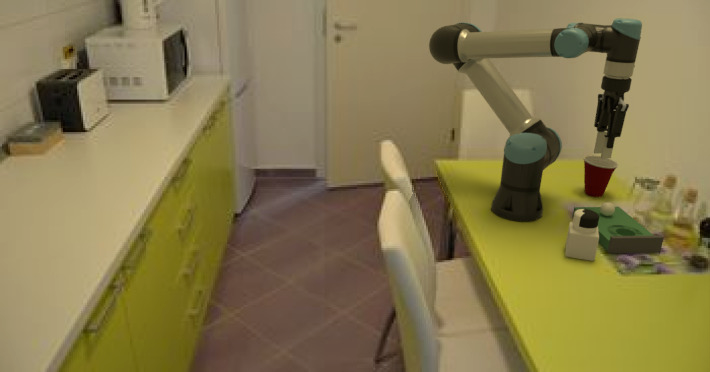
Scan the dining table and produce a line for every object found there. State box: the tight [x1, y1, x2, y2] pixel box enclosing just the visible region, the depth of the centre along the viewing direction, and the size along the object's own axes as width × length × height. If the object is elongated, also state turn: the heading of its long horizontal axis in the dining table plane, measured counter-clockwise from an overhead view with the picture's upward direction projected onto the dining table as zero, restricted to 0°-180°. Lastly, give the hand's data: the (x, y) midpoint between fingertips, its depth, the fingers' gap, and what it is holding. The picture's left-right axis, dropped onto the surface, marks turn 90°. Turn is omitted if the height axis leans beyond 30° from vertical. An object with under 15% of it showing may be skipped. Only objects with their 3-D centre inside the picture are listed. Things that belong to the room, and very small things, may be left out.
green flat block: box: [572, 206, 664, 254], centre depth 163 cm, size 14×23×4 cm, turn 4°
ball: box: [599, 201, 616, 216], centre depth 167 cm, size 4×4×4 cm
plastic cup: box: [583, 154, 620, 198], centre depth 188 cm, size 11×11×12 cm
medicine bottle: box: [565, 209, 599, 262], centre depth 150 cm, size 7×7×12 cm
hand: (602, 155), depth 169 cm, fingers open, 4 cm apart
